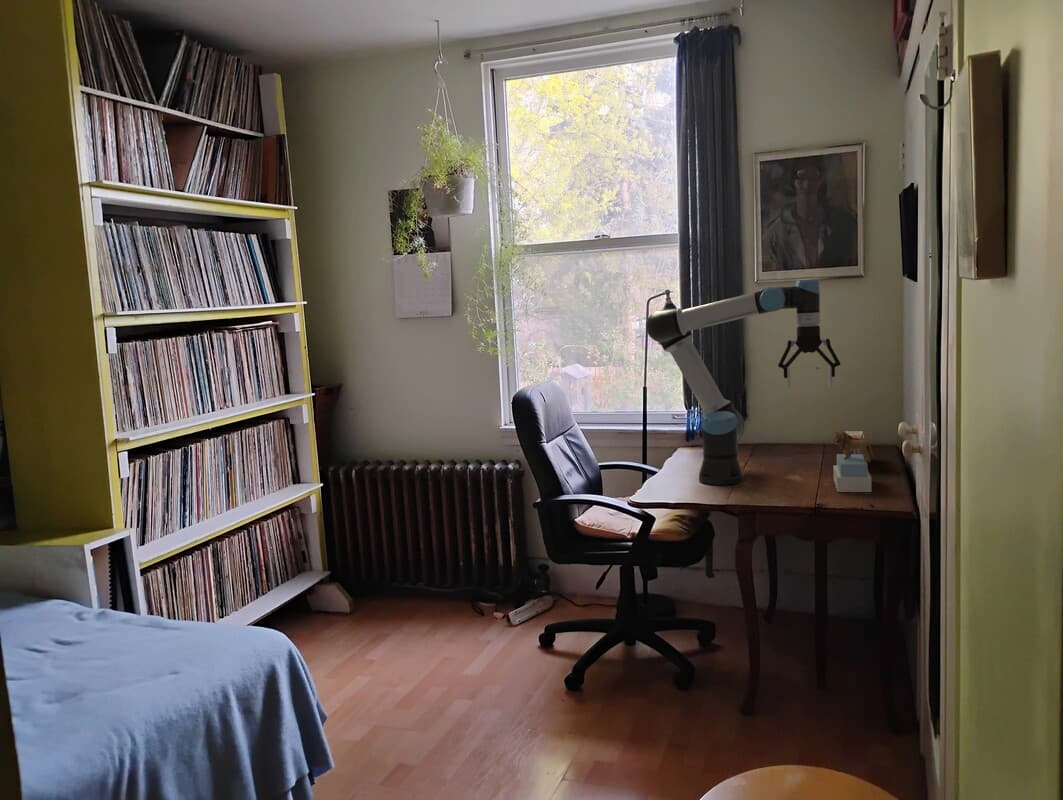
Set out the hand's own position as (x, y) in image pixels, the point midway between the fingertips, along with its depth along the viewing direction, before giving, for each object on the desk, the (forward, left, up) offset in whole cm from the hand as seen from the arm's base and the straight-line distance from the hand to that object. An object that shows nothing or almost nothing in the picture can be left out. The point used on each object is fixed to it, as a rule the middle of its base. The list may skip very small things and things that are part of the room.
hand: (809, 387), depth 291 cm
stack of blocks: (+16, +16, -31) cm, 38 cm away
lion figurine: (+13, -18, -22) cm, 31 cm away
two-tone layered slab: (+12, -17, -31) cm, 37 cm away
